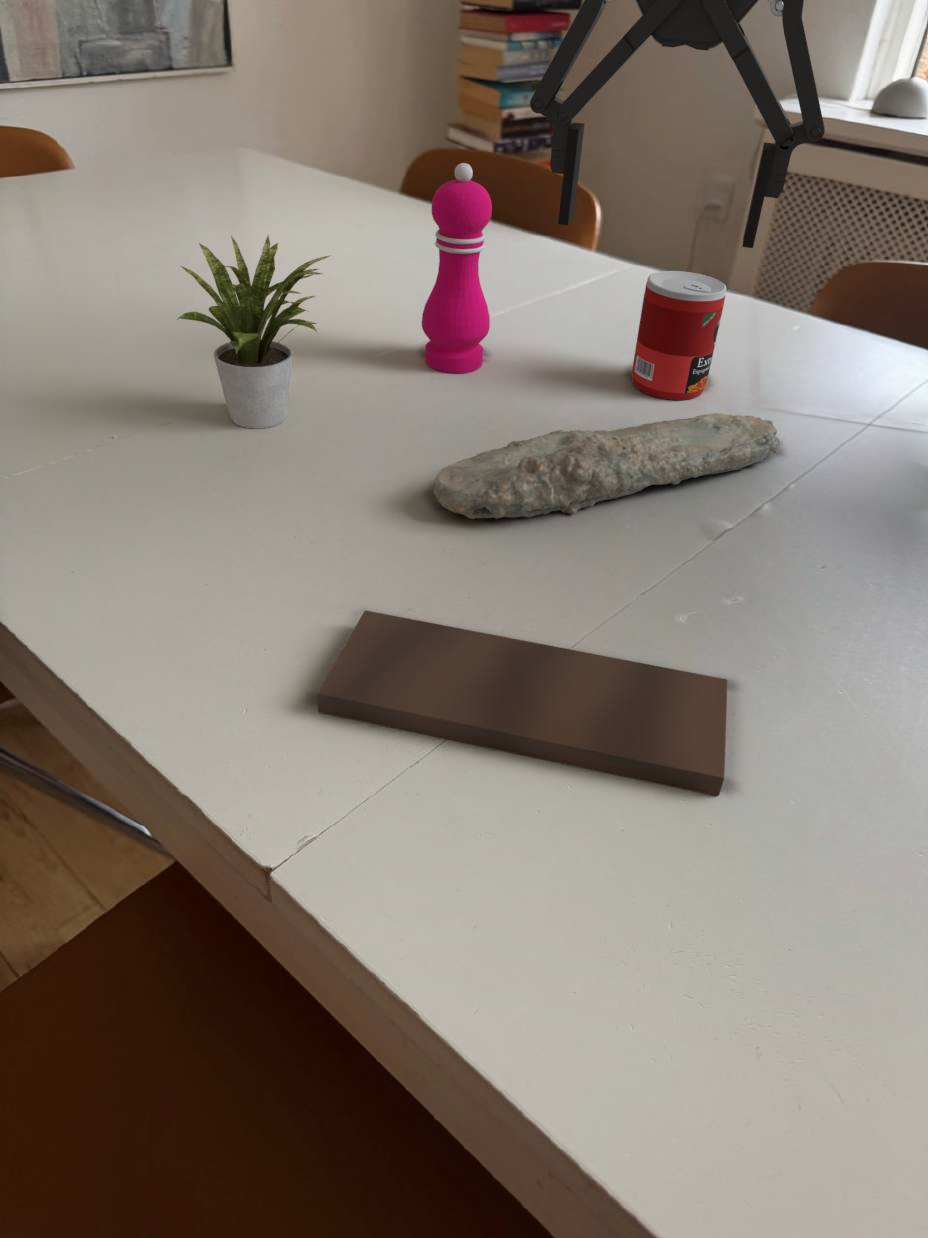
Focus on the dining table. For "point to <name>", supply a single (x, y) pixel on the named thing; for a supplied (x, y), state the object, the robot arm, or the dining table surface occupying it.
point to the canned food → (677, 334)
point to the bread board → (533, 700)
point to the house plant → (253, 336)
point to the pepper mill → (458, 276)
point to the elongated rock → (599, 465)
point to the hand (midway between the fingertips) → (655, 232)
